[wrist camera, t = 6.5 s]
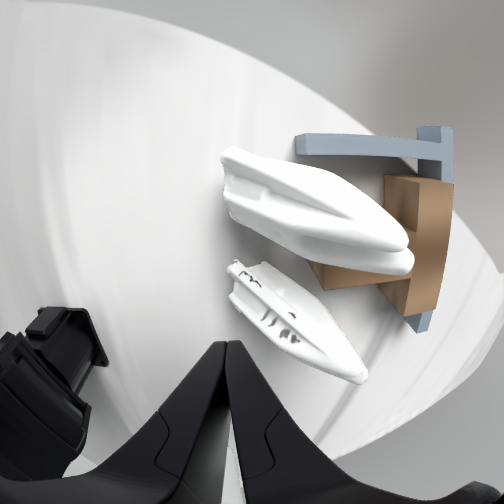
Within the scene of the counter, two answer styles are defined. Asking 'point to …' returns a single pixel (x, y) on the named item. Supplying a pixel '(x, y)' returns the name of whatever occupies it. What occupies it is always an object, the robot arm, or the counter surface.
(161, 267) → the counter surface
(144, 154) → the counter surface
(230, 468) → the foam cup
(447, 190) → the T block
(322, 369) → the salt and pepper shakers
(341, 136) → the corner fence
